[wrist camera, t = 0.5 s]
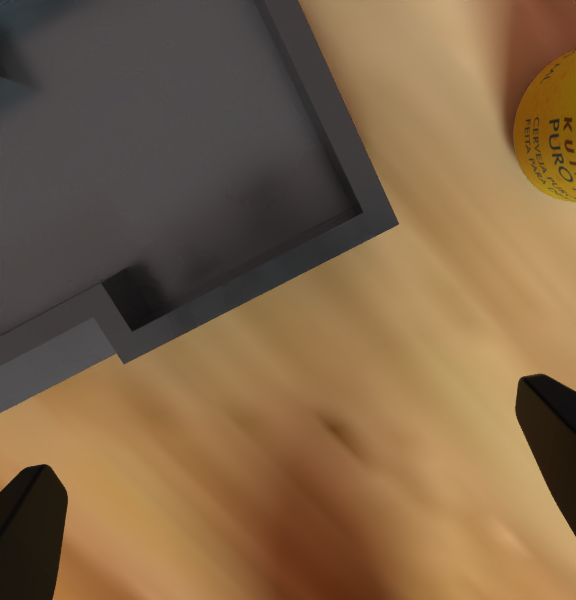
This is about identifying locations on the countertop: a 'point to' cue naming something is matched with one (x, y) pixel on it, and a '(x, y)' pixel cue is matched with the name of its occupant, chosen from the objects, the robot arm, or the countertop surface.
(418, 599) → the countertop surface
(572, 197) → the beer can
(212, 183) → the keyhole plate
